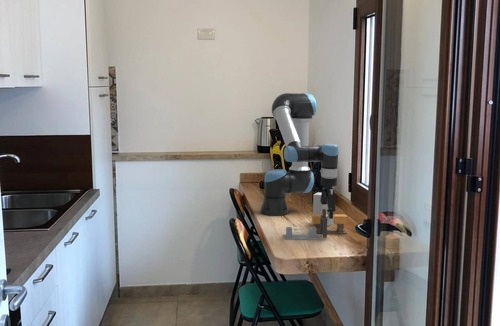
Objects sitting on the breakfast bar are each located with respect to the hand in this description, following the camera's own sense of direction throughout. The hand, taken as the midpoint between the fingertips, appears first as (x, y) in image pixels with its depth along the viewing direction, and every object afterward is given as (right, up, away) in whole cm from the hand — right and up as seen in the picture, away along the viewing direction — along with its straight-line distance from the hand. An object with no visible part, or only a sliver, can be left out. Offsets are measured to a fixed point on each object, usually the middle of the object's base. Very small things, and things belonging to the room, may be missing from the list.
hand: (326, 221), depth 244 cm
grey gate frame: (-3, -6, -9) cm, 11 cm away
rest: (+1, -5, +1) cm, 5 cm away
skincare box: (0, -3, +14) cm, 15 cm away
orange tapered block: (+1, -1, 0) cm, 1 cm away
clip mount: (-13, -6, -9) cm, 17 cm away
